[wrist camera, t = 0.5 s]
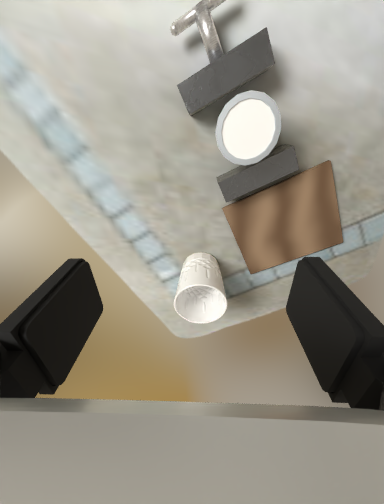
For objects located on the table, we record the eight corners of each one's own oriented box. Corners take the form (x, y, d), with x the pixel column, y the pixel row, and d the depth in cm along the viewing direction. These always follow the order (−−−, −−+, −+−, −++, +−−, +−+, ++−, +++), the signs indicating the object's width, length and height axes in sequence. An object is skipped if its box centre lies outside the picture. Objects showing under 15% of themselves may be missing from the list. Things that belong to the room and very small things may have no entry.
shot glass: (212, 100, 26) (215, 92, 20) (267, 97, 26) (287, 87, 20) (212, 159, 30) (215, 167, 24) (261, 157, 29) (276, 164, 23)
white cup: (227, 276, 40) (234, 316, 32) (190, 287, 42) (187, 328, 34) (212, 242, 37) (216, 277, 28) (173, 257, 39) (164, 294, 30)
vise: (243, -21, 21) (250, -45, 18) (289, 165, 30) (299, 169, 27) (159, 41, 24) (153, 28, 21) (224, 195, 32) (226, 202, 29)
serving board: (328, 160, 29) (330, 160, 29) (341, 240, 35) (343, 242, 35) (222, 207, 33) (222, 209, 33) (250, 272, 40) (250, 274, 39)
